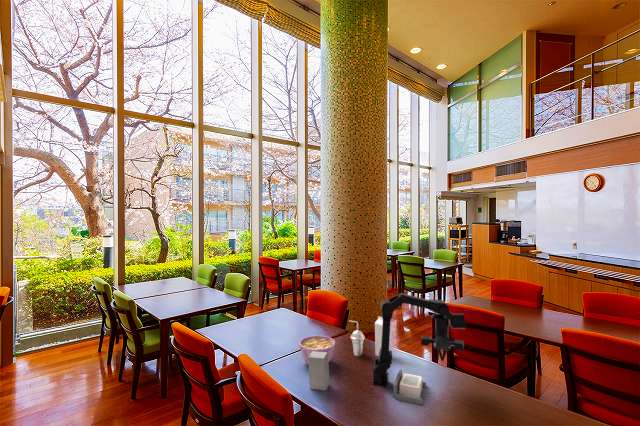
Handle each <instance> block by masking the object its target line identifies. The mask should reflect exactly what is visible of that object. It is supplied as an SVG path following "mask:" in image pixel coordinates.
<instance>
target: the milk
mask: <svg viewBox="0 0 640 426" xmlns="http://www.w3.org/2000/svg"><path fill="white" fill-rule="evenodd" d="M382 323H383V317H382V316H379V315H378V316H377V320H376V321H375V322H374V340H375V341H374V342H375V345H374V346H375V347H374V349H375V351H374V353H375V356H377V357H378V356H379V351H380V348H381V341H382ZM390 340H391V339H389V351H391V341H390Z"/></svg>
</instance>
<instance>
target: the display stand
mask: <svg viewBox="0 0 640 426" xmlns="http://www.w3.org/2000/svg"><path fill="white" fill-rule="evenodd" d="M402 377H403V369H401V368H400V369H399V370H398V373H397V375H396V377H395V379H394V382H393V399H396V400H398V401H403V402H407V403H412V404H418V405H420V406H421V405H423V398H420V397H419V398H417V397H412V396H407V395H402V394H400V382H401V379H402ZM426 387H427V381H424V380H422V388H426Z"/></svg>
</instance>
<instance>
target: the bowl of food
mask: <svg viewBox="0 0 640 426" xmlns="http://www.w3.org/2000/svg"><path fill="white" fill-rule="evenodd" d="M335 345H336V341H335V339H334V338H332V337H330V336H326V335H310V336H306V337H303V338H302V339H300V340H299V348H300V352H301V357H302V359H303V361H304V362H305V363H306V364H308V356H309V355H310V354H311V353H312V351H316V352H327V353H328V363H329V362H330V361H332V357H333V354H334V352H335V347H336V346H335Z"/></svg>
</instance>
